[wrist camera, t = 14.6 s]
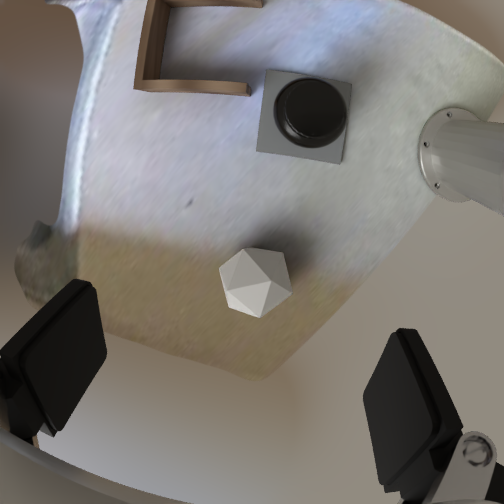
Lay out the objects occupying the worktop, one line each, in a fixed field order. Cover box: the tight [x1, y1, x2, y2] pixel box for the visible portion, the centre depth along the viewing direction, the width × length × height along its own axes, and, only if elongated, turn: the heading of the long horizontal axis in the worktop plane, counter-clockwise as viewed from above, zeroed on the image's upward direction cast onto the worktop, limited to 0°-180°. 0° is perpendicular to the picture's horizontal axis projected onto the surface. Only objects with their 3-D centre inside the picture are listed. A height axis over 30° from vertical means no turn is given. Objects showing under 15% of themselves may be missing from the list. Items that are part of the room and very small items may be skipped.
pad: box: [256, 70, 352, 165], centre depth 33 cm, size 10×10×1 cm
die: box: [219, 247, 293, 318], centre depth 38 cm, size 8×9×10 cm
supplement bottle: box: [273, 77, 348, 149], centre depth 28 cm, size 7×7×12 cm
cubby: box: [133, 0, 263, 97], centre depth 29 cm, size 12×13×5 cm
